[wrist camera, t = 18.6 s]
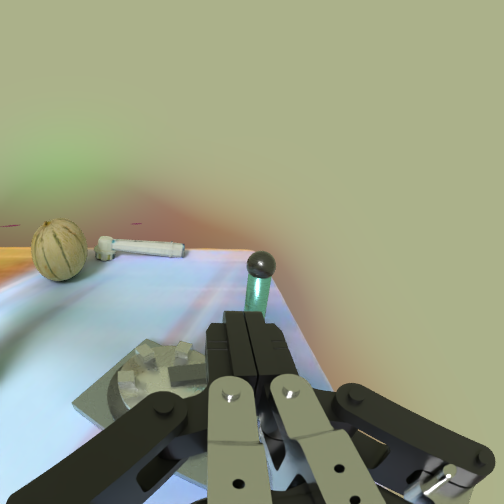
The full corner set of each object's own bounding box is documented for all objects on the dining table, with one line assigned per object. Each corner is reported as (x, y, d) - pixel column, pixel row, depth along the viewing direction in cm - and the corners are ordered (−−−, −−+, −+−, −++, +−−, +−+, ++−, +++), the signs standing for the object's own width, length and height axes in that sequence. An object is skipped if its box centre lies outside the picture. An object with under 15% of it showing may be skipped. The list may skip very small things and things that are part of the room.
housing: (74, 409, 30) (67, 393, 29) (147, 345, 46) (145, 329, 45) (217, 494, 24) (218, 484, 23) (270, 395, 40) (274, 379, 38)
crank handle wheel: (124, 437, 26) (83, 295, 19) (120, 361, 37) (102, 234, 30) (273, 415, 32) (307, 281, 25) (239, 350, 43) (254, 230, 36)
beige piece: (185, 247, 78) (93, 236, 68) (181, 269, 80) (92, 260, 71) (183, 240, 82) (97, 230, 73) (180, 261, 84) (95, 252, 75)
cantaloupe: (101, 270, 67) (96, 212, 61) (65, 298, 54) (54, 232, 48) (62, 260, 69) (56, 207, 63) (26, 283, 55) (15, 223, 50)
